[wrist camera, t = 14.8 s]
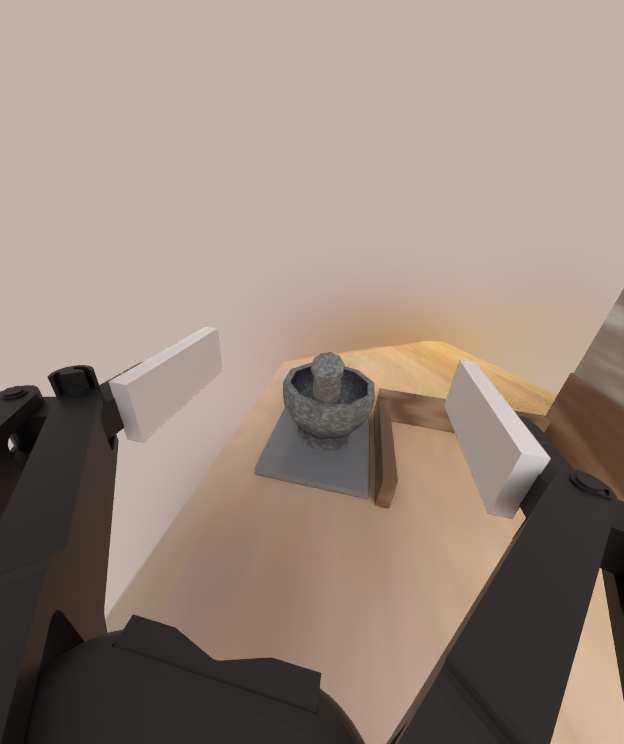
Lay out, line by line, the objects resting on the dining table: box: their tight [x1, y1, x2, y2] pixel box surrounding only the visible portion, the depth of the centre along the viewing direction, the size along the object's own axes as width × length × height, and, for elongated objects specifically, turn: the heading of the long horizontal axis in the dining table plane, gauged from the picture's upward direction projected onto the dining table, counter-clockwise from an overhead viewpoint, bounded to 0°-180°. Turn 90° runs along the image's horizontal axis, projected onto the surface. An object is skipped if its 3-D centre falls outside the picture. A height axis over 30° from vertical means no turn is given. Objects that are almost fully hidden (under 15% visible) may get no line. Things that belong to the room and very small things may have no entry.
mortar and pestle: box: [283, 353, 375, 451], centre depth 29 cm, size 11×9×12 cm
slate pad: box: [255, 407, 369, 499], centre depth 32 cm, size 11×13×1 cm
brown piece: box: [374, 289, 624, 508], centre depth 25 cm, size 21×15×24 cm
